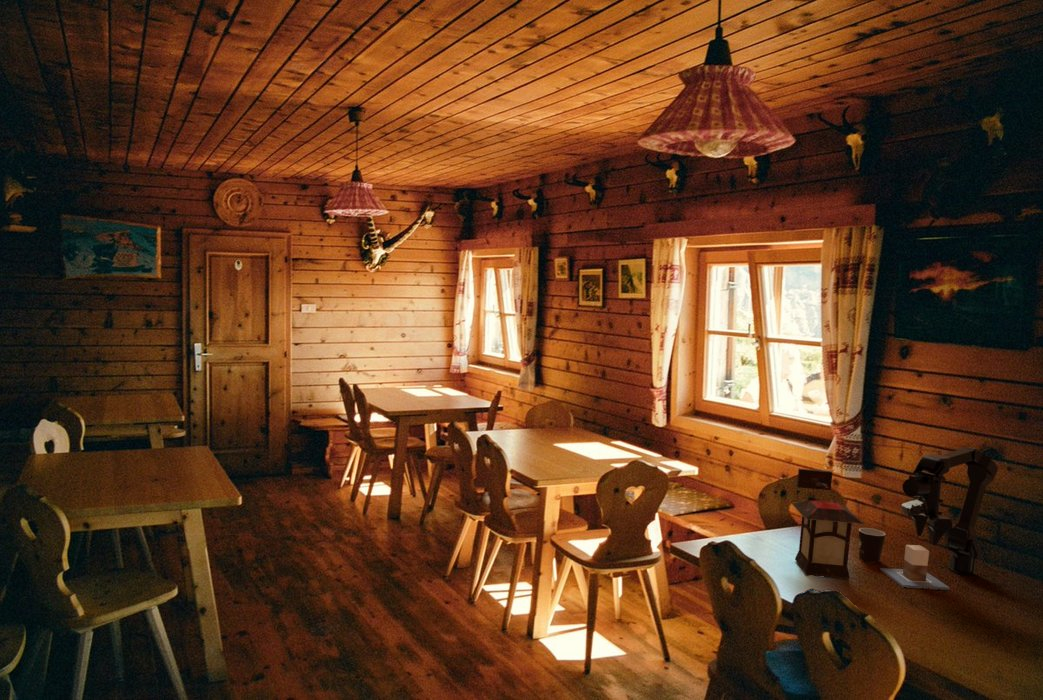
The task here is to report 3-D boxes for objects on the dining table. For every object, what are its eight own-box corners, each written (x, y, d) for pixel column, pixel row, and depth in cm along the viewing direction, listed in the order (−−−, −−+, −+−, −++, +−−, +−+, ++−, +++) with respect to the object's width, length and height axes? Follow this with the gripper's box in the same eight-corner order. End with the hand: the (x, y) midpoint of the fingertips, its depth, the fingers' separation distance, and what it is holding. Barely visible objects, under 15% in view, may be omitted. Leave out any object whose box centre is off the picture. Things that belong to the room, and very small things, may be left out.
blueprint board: (924, 572, 263) (924, 570, 263) (949, 590, 248) (949, 587, 248) (880, 570, 263) (880, 567, 263) (902, 587, 248) (903, 584, 248)
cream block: (919, 560, 257) (920, 545, 257) (927, 565, 252) (929, 550, 252) (904, 559, 257) (905, 544, 257) (912, 564, 252) (913, 549, 252)
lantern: (834, 556, 275) (843, 472, 272) (858, 583, 249) (868, 491, 246) (780, 551, 276) (788, 467, 274) (799, 577, 251) (808, 485, 248)
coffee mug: (879, 566, 267) (882, 537, 266) (852, 559, 272) (855, 531, 271) (887, 558, 276) (890, 530, 275) (861, 551, 281) (864, 524, 281)
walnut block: (917, 575, 258) (919, 560, 257) (925, 580, 253) (927, 565, 252) (902, 574, 258) (904, 559, 257) (910, 579, 253) (912, 564, 252)
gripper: (892, 485, 265) (888, 530, 266) (921, 501, 246) (917, 549, 248) (924, 486, 265) (920, 531, 267) (956, 502, 247) (951, 550, 248)
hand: (926, 540), depth 257 cm, fingers open, 9 cm apart
